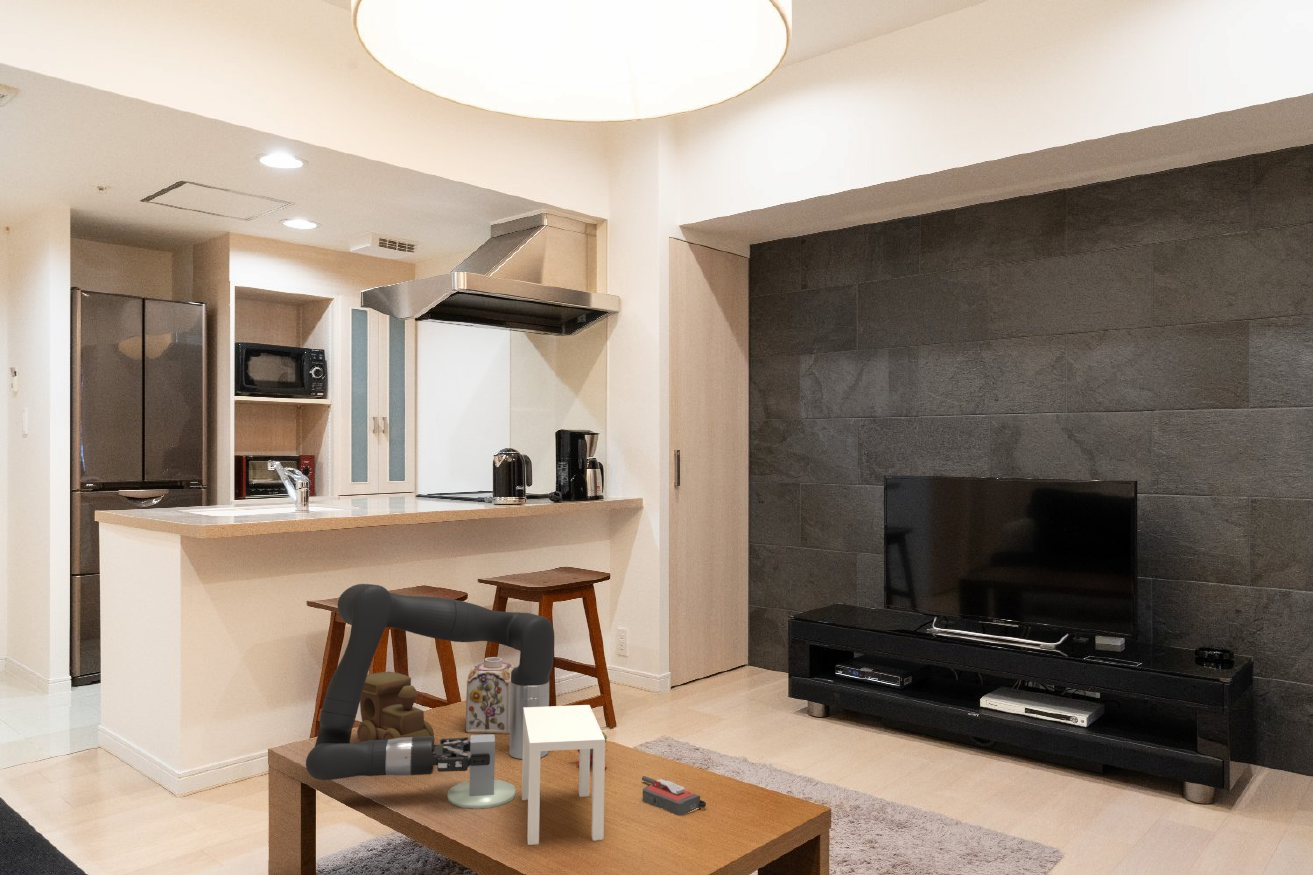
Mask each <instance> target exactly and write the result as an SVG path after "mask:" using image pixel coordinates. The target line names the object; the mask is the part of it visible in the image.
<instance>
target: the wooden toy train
mask: <svg viewBox="0 0 1313 875" xmlns="http://www.w3.org/2000/svg"><path fill="white" fill-rule="evenodd" d="M418 695H419V693H418V691H417V689H416V688H415V686H414V685H412V678H411V677H410V676H408V675H406V674H402V673H399V672H396V671H395V672H394V671H381V672H376V673H368V674H367V677H366V681H365V684H364V687H363V691H362V695H361V699H360V703H359V708H360V716H361V721H360V722H359V723H358V724H359V725H358V727H357V731H356V733H357V734H356V735H357V740H358V743H361V742H364V741H369V740H386V739H388V740H389V739H395V738H402V737H426V736H432V737H434V738H435V733H434V728H433V726H432V725H431V724H430V722H429V721H427V720H425V714H424V713H425V712H424V710H422V709H421V708H418V707H415V706H414V704H415V701H416V699H417V698H418Z"/></svg>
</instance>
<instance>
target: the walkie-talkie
mask: <svg viewBox="0 0 1313 875" xmlns="http://www.w3.org/2000/svg"><path fill="white" fill-rule="evenodd" d="M641 780H642V781H643V782H646V783H648V784H649V785H647V786H645V787H643V788H642V802H644V801H645V802H644V803H646V802H648V803H647V804H649V805H651V804H652V805H651V806H654V807H656V808H659V809H661V808H663V809H662V810H664V811H666V810H668V811H670V812H669V813H671V814H674V815H677V816H681V815H683V816H685V815H687V814H686V813H688V812H690V811H692V810H694V809H696V808H700V809H701V808H705V807H706V806H707V804H706V801H704V800H702V799H701V796H700V795H699V794H696V793H693V792H691V791H688V790H686V788H685V786H682V785H679V784H676V783H675V782H673V781H670V780H667V779H664V778H659V779H653V778H651V777H648V776H645V775H643V776H642V777H641ZM668 811H667V812H668ZM690 813H691V812H690ZM684 814H685V815H684ZM688 814H689V813H688Z"/></svg>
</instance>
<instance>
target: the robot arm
mask: <svg viewBox="0 0 1313 875" xmlns="http://www.w3.org/2000/svg"><path fill="white" fill-rule="evenodd" d="M336 607H337V612H338V614H339V616H340V617H341V619H342V620H343V622H345V623H347V624H348V625H350V626H351V628H350V633H349V638H348V641H347V642H348V643H347V646H346V648H345V650H344V653H343V655H342V658H341V659H340V662H339V664H338V666H337V667H336V669H335V671H334V673H333V674H332V677H331V678H330V680H329V684H328V685H327V688H326V692H325V696H324V699H323V703H322V707H321V711H320V716H319V730H318V733H317V737H316V741H315V745H314V747H313V748H312V749H311V750H310V751H309V752H308V755H307V756H306V759H305V768H306V771H307V773H308V774H309V775H310V776H311V777H312V778H314V779H316V780H320V781H330V780H339V779H348V778H355V777H377V776H379V777H380V776H381V777H382V776H393V777H394V776H395V777H406V776H427V775H429V776H430V775H432V774H433V773H434V766H437V769H436V770H437V772H439V773H441V772H442V773H443V772H466V771H468V769H470V767H471V766H482V765H489V764H490V754H488V753H484V754H472V756H471V754H470V739H469V737H466V736H465V737H453V738H451V737H450V738H441V739H440V741H439V742H440V743H439V744H435V736H434V737H432V736H426V737H402V738H395V739H389V740H388V739H386V740H369V741H364V742H361V743H359V742H351V739H352V732H353V728H354V723H355V721H356V718H357V714H358V710H359V708H360V699H361V695H362V691H363V687H364V684H365V681H366V677H367V675H369V671H370V668H371V664H372V662H373V659H374V657H375V654H376V652H377V649H378V646H379V644H380V641H381V638H382V636H383V634H384V632H385V630H386V628H391V629H396V630H401V631H405V632H408V633H412V634H414V635H420V636H422V637H426V638H427V637H428V638H431V639H435V640H441V641H448V642H454V643H476V642H489V643H493V644H494V643H495V644H498V645H503V646H506V647H508V648H509V647H510V648H512V649H514V650H516V651H519V663H518V666H515V667H516V668H514V669H513V670H512V671H511V698H510V733H509V756H511V757H513V758H515V759H521V760H522V754H523V707H548V706H550V675H551V673H552V670H553V666H554V656H555V654H554V653H555V629H554V626H553V623H552V622H551V621H550V620H549V619H548V618H546V616H545V617H544V616H541V615H538V614H534V613H531V612H517V611H516V612H514V611H511V612H509V611H499V610H493V609H490V608H487V607H484V606H480V605H478V604H474V603H471V602H469V601H468V602H467V601H463V600H457V599H452V598H447V597H437V596H419V595H418V596H417V595H414V596H413V595H401V594H397V593H394V592H390V591H389V590H388V589H387V588H385V587H384V586H381V585H379V584H371V583H359V584H355V585H352V586H350V587H348V588H346V590H344V591H343V592H342V593H341V594H340V596H339V598H338V601H337V606H336ZM548 754H549V751H541V752H540V758H543V757H545V756H547V755H548Z"/></svg>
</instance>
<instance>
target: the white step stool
mask: <svg viewBox="0 0 1313 875" xmlns="http://www.w3.org/2000/svg"><path fill="white" fill-rule="evenodd" d="M601 731H602V729H601V728H600V724H599V722H598V721H597V718H596V715H595V714H594V711H593V710H592V707H591V705H590V704H581V705H580V704H579V705H577V704H576V705H555V706H554V705H553V706H552V705H551V706H550V705H549V706H548V707H523V754H522V759H521V761H522V764H521V765H522V766H521V768H522V769H521V770H522V771H521V800H522V801H527V831H526V832H527V833H526V834H527V838H526V840H527V845H528V846H530V845H531V846H533V845H539V844H540V805H541V803H540V800H541V798H540V797H541V757H540V752H541V751H548V752H551V751H572V750H574V751H575V750H577V749H579V752H578V754H579V755H578V757H579V758H578V762H579V767H578V771H579V772H578V795H579V796H578V797H580V798H582V797H590V781H591V780H590V770H591V767H590V765H591V762H590V749H593V762H592V781H591V782H592V783H591V786H592V788H591V791H592V792H591V839H592V841H604V832H605V831H604V830H605V827H604V825H605V772H606V769H605V767H606V763H605V762H606V743H605V738H604V736H603V734H602V732H603V731H602V732H601ZM577 751H578V750H577Z"/></svg>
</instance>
